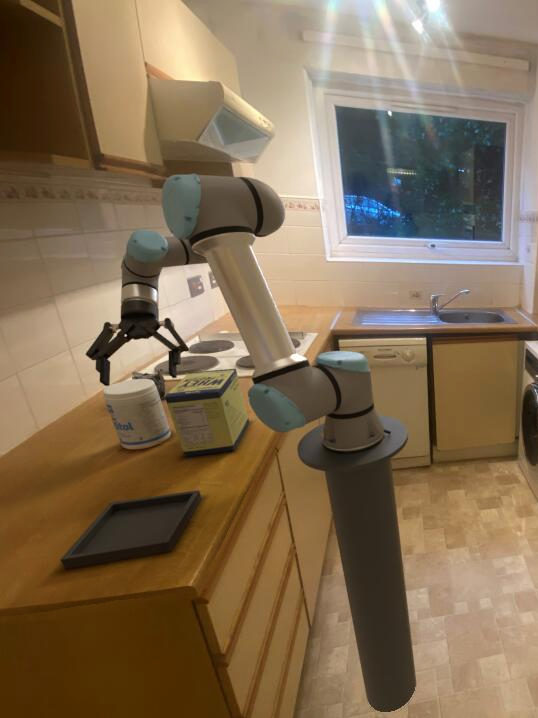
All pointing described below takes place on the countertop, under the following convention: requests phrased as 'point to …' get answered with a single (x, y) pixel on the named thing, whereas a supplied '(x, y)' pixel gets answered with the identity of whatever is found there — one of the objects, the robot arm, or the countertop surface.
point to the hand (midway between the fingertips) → (139, 379)
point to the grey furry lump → (156, 378)
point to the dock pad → (133, 529)
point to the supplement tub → (137, 413)
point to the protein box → (208, 412)
